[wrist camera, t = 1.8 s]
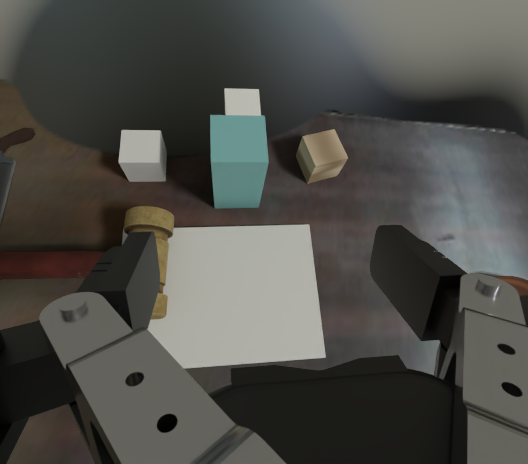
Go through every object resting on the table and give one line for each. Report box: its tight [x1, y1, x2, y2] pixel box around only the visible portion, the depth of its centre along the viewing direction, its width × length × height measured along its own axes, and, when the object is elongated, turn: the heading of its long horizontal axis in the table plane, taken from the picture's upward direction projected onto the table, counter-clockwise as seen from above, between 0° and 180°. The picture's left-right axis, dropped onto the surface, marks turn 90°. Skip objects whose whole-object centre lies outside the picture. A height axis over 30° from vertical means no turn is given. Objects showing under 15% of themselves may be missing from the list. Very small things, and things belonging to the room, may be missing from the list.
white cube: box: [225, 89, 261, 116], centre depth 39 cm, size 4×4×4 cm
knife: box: [0, 128, 35, 225], centre depth 35 cm, size 14×4×1 cm, turn 2°
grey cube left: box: [118, 130, 167, 182], centre depth 36 cm, size 4×4×4 cm
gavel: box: [0, 206, 174, 320], centre depth 31 cm, size 21×5×10 cm
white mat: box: [122, 225, 326, 368], centre depth 33 cm, size 20×14×1 cm
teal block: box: [210, 115, 269, 208], centre depth 34 cm, size 5×5×10 cm
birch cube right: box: [296, 129, 348, 184], centre depth 38 cm, size 4×4×4 cm
